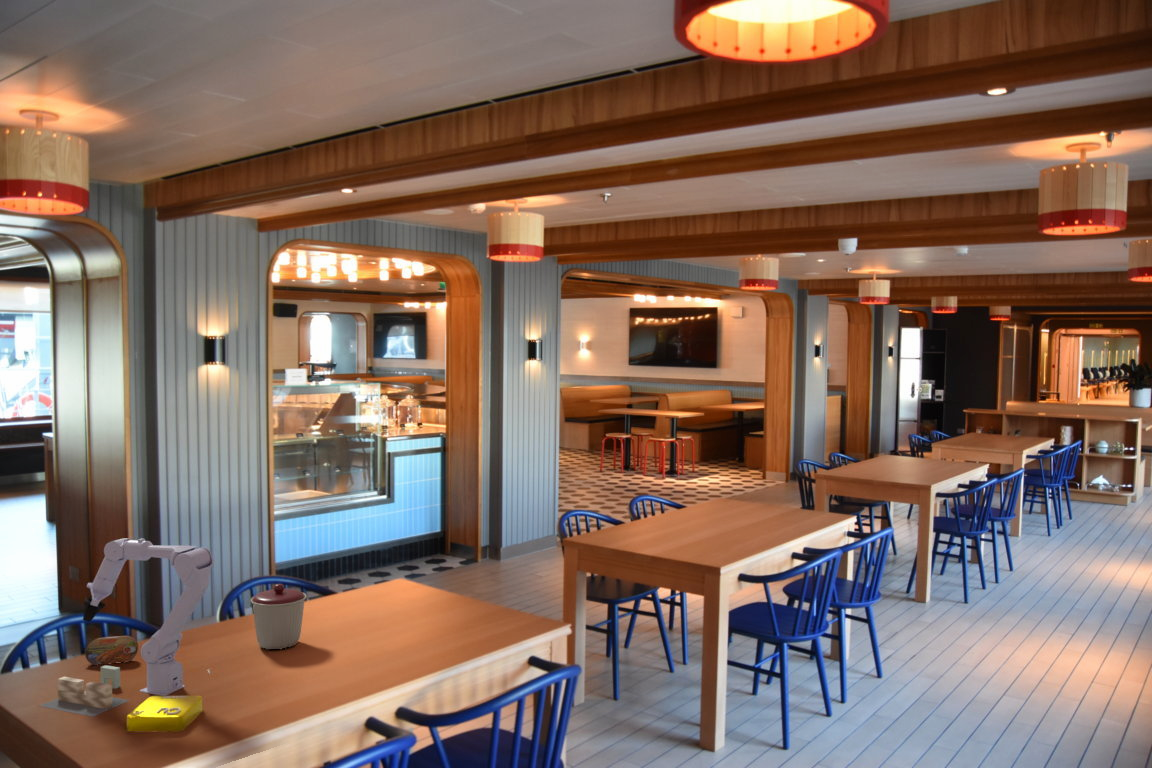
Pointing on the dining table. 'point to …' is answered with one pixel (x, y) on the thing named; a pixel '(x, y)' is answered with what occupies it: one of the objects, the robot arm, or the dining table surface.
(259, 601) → the canister
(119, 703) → the slate mat
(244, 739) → the dining table surface
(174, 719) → the element tile
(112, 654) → the tin
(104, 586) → the robot arm
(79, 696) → the birch notched plate
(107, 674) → the sage slotted block
